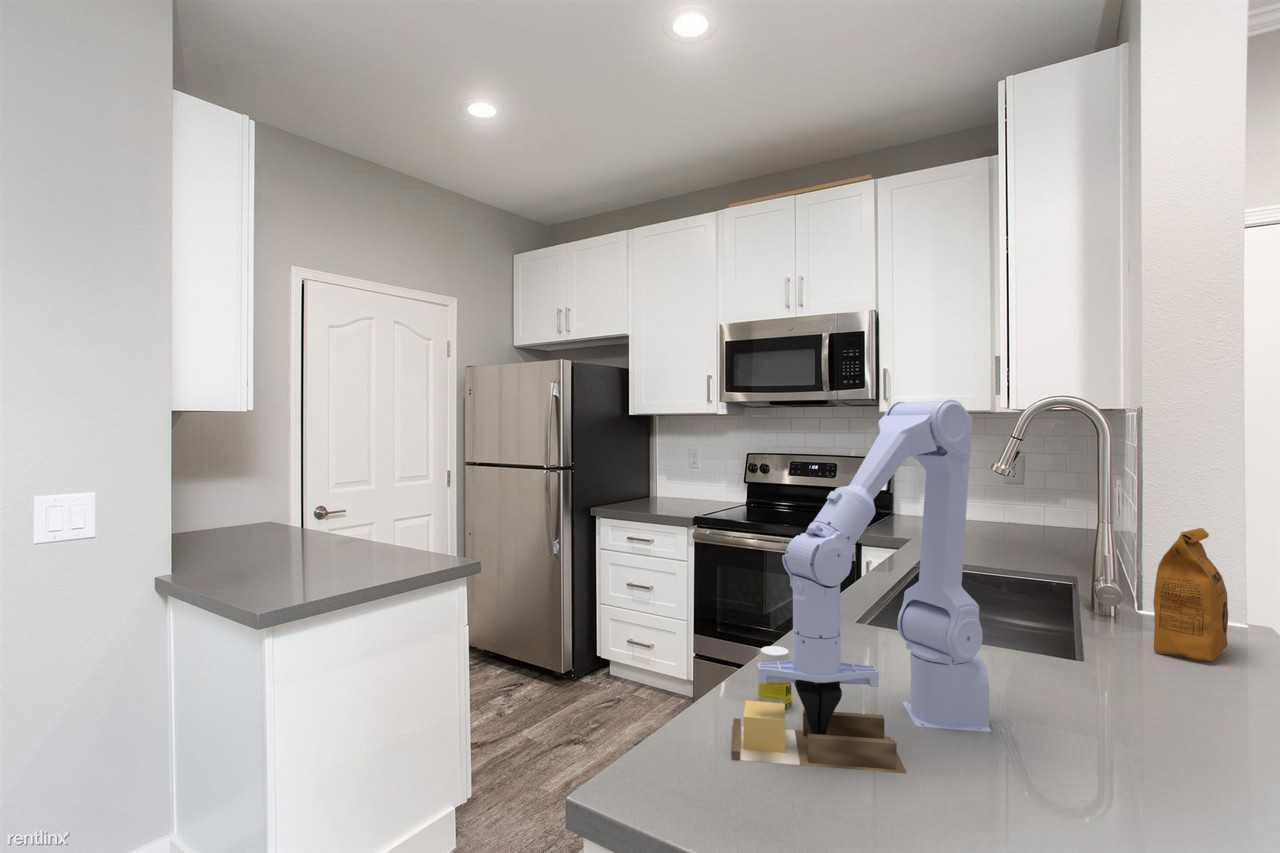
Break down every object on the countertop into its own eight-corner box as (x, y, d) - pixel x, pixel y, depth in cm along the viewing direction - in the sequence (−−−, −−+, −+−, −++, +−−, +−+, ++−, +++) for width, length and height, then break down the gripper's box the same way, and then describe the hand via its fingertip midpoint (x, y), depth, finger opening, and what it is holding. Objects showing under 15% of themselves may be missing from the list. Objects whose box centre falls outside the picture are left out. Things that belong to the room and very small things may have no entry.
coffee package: (1239, 654, 116) (1239, 530, 116) (1215, 669, 109) (1214, 537, 109) (1170, 639, 124) (1170, 523, 124) (1143, 652, 117) (1143, 529, 117)
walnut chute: (890, 740, 84) (889, 713, 84) (906, 777, 76) (906, 747, 76) (733, 729, 88) (733, 703, 88) (731, 763, 79) (731, 734, 79)
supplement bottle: (792, 717, 91) (791, 657, 91) (757, 714, 92) (757, 654, 92) (791, 703, 96) (790, 645, 96) (758, 700, 97) (758, 643, 97)
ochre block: (784, 734, 85) (784, 703, 85) (784, 753, 80) (784, 720, 80) (745, 730, 86) (745, 700, 86) (743, 748, 81) (743, 716, 81)
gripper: (868, 623, 85) (868, 728, 85) (754, 620, 86) (755, 724, 86) (883, 641, 78) (883, 755, 78) (759, 638, 79) (760, 750, 79)
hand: (817, 740), depth 82 cm, fingers closed
